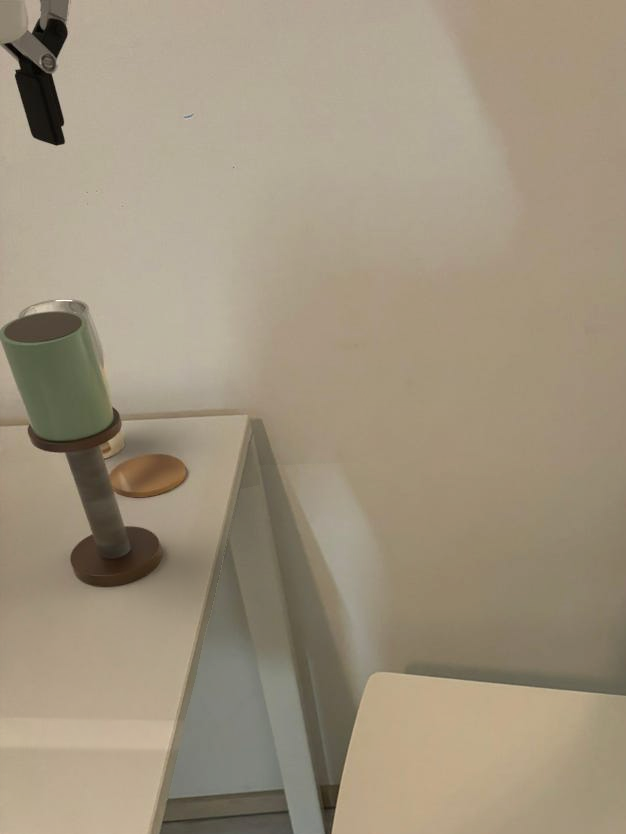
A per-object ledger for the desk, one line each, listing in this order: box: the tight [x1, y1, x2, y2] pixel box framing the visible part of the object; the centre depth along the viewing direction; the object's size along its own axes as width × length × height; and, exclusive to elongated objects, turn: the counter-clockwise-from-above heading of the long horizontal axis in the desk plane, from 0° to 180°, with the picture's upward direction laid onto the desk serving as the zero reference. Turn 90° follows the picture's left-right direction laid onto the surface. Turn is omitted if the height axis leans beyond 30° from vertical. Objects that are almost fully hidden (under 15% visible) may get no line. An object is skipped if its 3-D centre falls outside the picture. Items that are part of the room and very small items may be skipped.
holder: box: [27, 406, 163, 587], centre depth 81 cm, size 8×8×14 cm
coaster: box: [109, 453, 187, 498], centre depth 97 cm, size 8×8×1 cm
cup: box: [0, 311, 114, 441], centre depth 74 cm, size 6×6×8 cm
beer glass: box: [17, 298, 125, 460], centre depth 97 cm, size 7×7×15 cm
